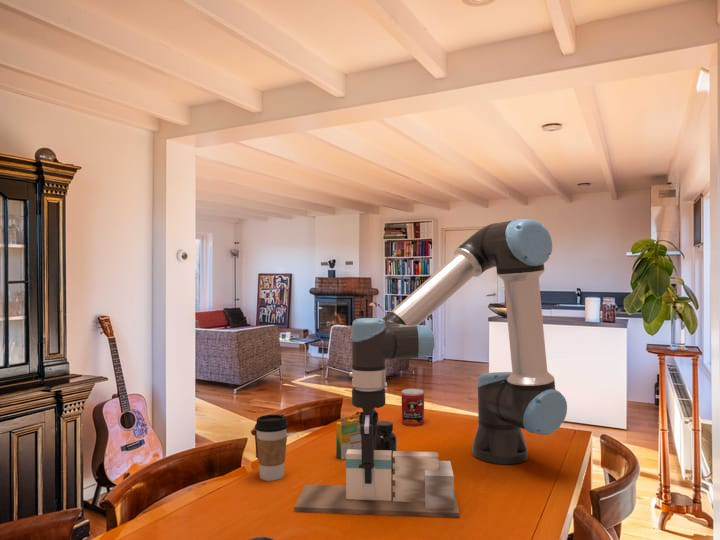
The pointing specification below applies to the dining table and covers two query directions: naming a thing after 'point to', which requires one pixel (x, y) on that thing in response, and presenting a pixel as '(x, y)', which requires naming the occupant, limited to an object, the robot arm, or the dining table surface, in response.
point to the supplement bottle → (386, 437)
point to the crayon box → (347, 436)
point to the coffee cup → (271, 446)
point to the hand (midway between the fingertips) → (369, 492)
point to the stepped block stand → (394, 491)
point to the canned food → (412, 407)
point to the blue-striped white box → (381, 475)
